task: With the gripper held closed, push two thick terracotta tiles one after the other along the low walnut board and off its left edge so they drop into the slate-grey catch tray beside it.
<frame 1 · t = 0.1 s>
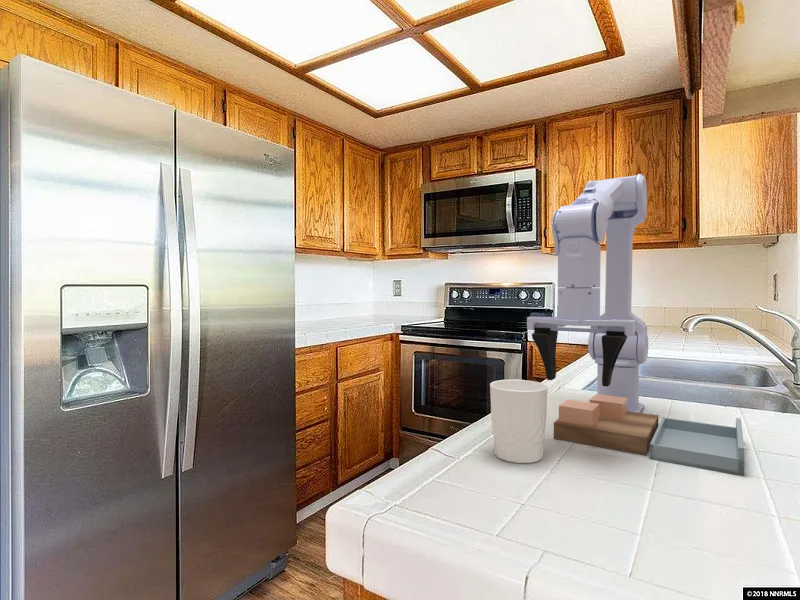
hand: (577, 382, 67), 10 cm above the worktop, fingers open, 7 cm apart
tile near: (579, 420, 74), point 2 cm above the worktop, touching board
white cup: (518, 456, 66), on the worktop
board: (607, 434, 75), on the worktop
tile far: (608, 413, 78), point 2 cm above the worktop, touching board
tray: (697, 449, 68), on the worktop
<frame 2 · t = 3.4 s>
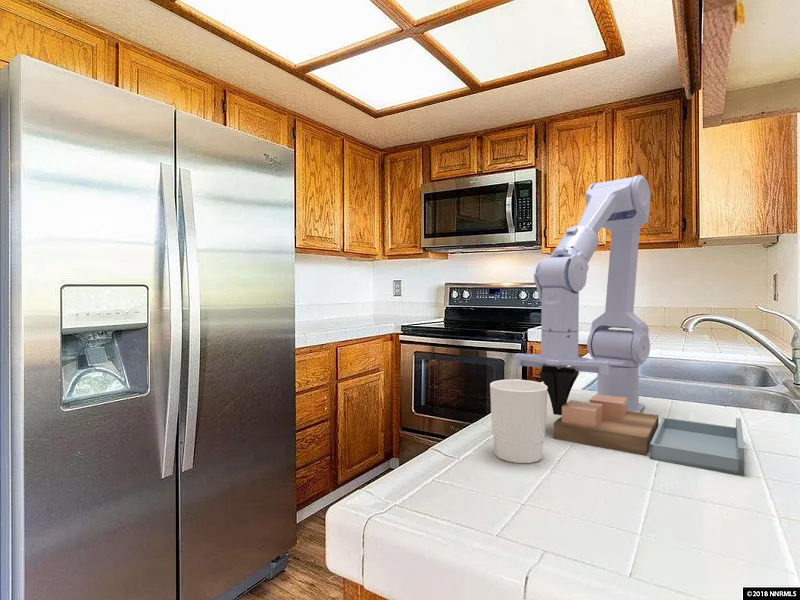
hand: (559, 413, 76), 3 cm above the worktop, fingers closed
tile near: (582, 420, 73), point 3 cm above the worktop, touching gripper
everything else where it was.
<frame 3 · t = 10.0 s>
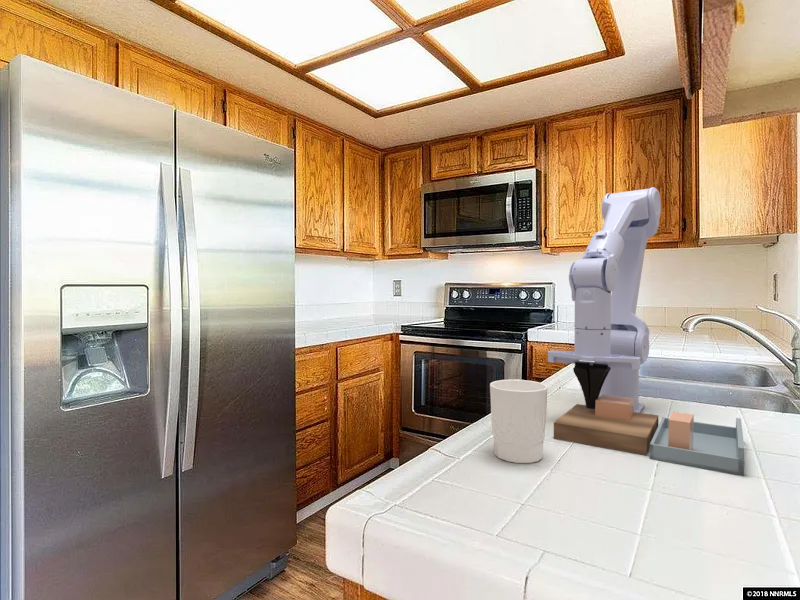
hand: (591, 407, 79), 3 cm above the worktop, fingers closed
tile near: (670, 432, 66), point 3 cm above the worktop, tilted 90°, touching tray
tile far: (614, 414, 77), point 3 cm above the worktop, touching gripper
everything else where it was.
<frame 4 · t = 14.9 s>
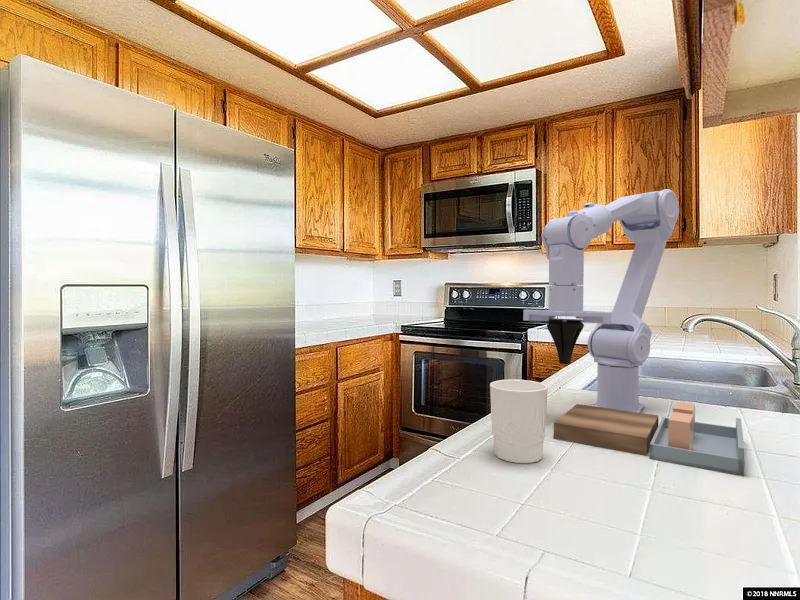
hand: (565, 363, 81), 10 cm above the worktop, fingers closed
tile far: (674, 420, 72), point 3 cm above the worktop, tilted 90°, touching tray
everything else where it was.
at the end: tile near inside the target area (5.2 cm from its centre), point 2.9 cm above the worktop; tile far inside the target area (4.7 cm from its centre), point 2.9 cm above the worktop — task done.
